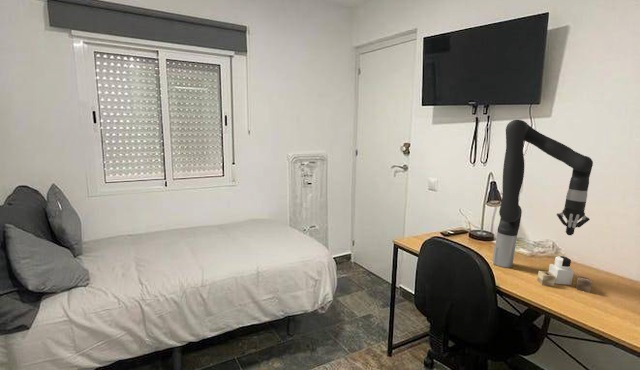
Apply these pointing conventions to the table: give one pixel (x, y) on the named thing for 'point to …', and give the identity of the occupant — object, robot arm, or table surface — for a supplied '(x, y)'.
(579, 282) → the walnut cube
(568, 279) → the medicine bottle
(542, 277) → the oak cube
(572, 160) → the robot arm
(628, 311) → the table surface
